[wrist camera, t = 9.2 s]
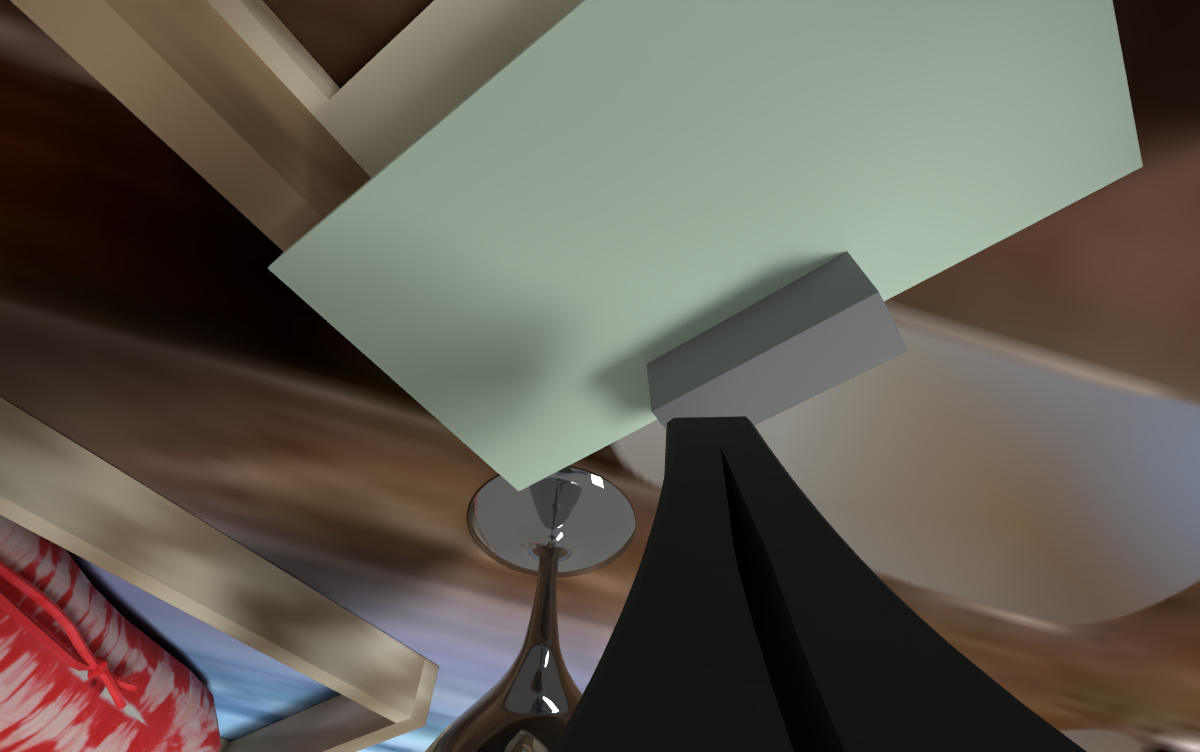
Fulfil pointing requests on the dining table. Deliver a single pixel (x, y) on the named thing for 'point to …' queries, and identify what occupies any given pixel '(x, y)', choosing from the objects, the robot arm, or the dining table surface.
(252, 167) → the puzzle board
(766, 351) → the slide cover
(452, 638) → the dining table surface
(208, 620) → the bottle frame
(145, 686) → the water bottle
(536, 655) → the wine glass
